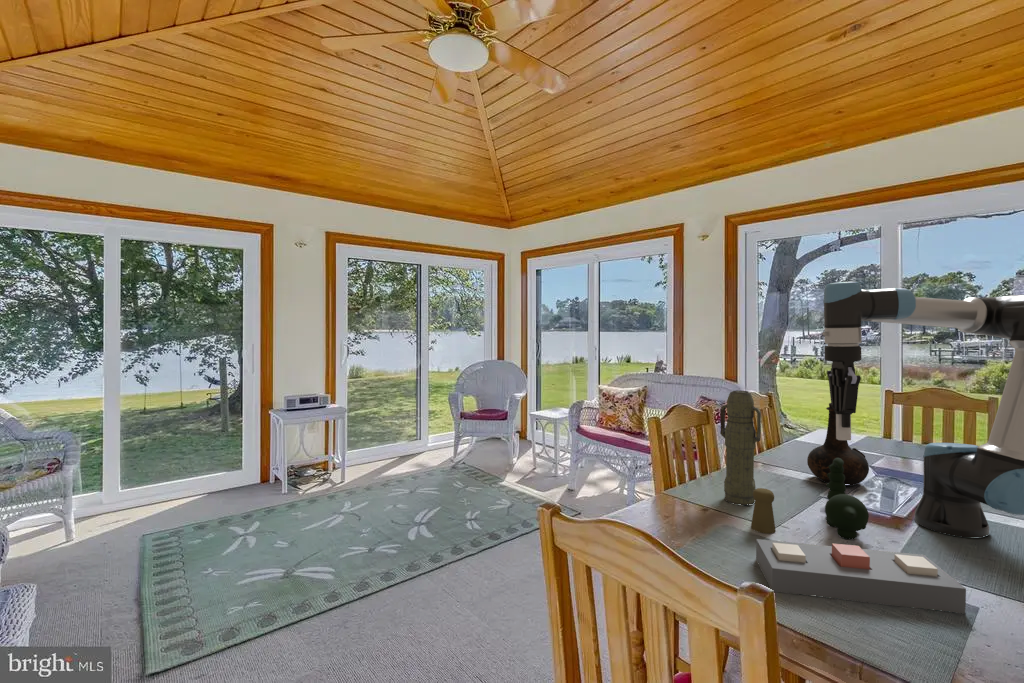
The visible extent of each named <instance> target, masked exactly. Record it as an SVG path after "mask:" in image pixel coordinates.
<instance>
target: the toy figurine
mask: <svg viewBox="0 0 1024 683" xmlns="http://www.w3.org/2000/svg"><path fill="white" fill-rule="evenodd" d="M843 464H844V461H843V460H842V459H841V458H835V459H834V460H833V464H831V465H829V466H828V467H829V469H830V471H831V472H830V473H828V474H827V477H828V478H829V479H830V482H829V483H827V482H826V488H827V489H829V491H828V492H827V496H826V498H827V501H826V503H825V506H824V512H825V520H826V521H825V522H826V524H827V526H829V527H830V528H836V529H837V530H836V531H837V532H836V533H837V535H838V537H840V539H841V538H842V539H845V540H851V541H852V540H855V539H857V537H858V533H857V532H858V531H862V530H865V529H866V528H867V524H868V523H869V518H870V514H869V511H868V508H867V507H866V505H865V504H864V503H863V501H861V500H860V499H859V498H857V497H855V496H854V495H851V494H847V493H846V490H847V488H846V487H847V486H845V484H844V483H843V482H844V481H845V476H844V474H843V472H844V468H843Z"/></svg>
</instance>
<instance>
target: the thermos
mask: <svg viewBox="0 0 1024 683" xmlns="http://www.w3.org/2000/svg"><path fill="white" fill-rule="evenodd" d="M755 412H756V414H757V416H756V422H757V423H756V426H757V427H756V428H755V425H754V423H755V422H754V417H755V416H754V415H755ZM719 414H720V415H719V417H720V422H719V424H720V432H719V433H720V435H721V437H723V439H724V445H725V448H726V454H725V455H726V457H725V458H726V460H725V461H726V462H725V463H726V464H725V466H726V469H725V470H726V471H725V479H724V482H723V485H724V488H723V492H724V500H725V501H726V500H727V501H728V502H727V501H726V502H727V503H729V502H730V503H729V504H731V503H734V504H741V505H747V504H748V505H749V504H753V503H754V502H755V500H754V498H753V491H754V490H755V489H756V481H755V478H754V477H755V475H754V473H755V471H754V470H755V468H754V467H755V466H754V465H755V464H754V462H755V450H756V445H757V444H756V442H757V443H759V442H760V441H761V435H762V427H761V426H762V412H761V410H760V408H759V407H756V406H755V401H754V398H753V395H752V393H751V392H749V391H747V390H732V391H730V392H729V394H728V397H727V400H726V404H724V405H722V406H721V407H720V409H719ZM726 415H727V419H726ZM734 504H733V505H734ZM754 504H755V503H754Z"/></svg>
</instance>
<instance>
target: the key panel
mask: <svg viewBox="0 0 1024 683" xmlns="http://www.w3.org/2000/svg"><path fill="white" fill-rule="evenodd" d="M755 543H756V546H755V548H756V549H755V560H756V563H757V564H758V563H759V564H758V566H759V568H760V570H761V572H762V574H763V576H764V578H765V580H766V581H767V584H768V586H769V588H770V590H771V589H772V590H774V591H773V592H774V593H775V592H776V593H784V594H791V593H793V595H799V594H804V595H803V596H808V595H816V596H823V597H822V598H825V597H831V598H830V599H833V598H838V599H837V600H842V599H845V600H844V601H850V600H853V602H859V601H860V603H867V602H868V603H870V604H878V605H887V606H894V607H902V608H910V607H914V608H913V609H918V608H924V609H923V610H927V609H934V610H933V611H935V610H942V611H941V612H944V611H950V612H949V613H952V612H957V613H956V614H961V613H962V614H961V615H966V606H967V604H966V603H967V588H966V587H965V586H963V585H962V584H961V583H960V582H958V581H957V580H956V579H955V578H953V577H952V576H951V575H950V574H948V573H947V572H946V571H945V570H944V569H942V568H941V567H940V566H939V565H937V564H936V563H935V562H934V561H933V560H931V559H930V558H928V557H927V556H926V555H925V554H919V553H908V552H899V551H888V550H887V551H886V550H877V549H876V550H875V549H868V548H867V549H866V548H861V549H862V550H863V551H864V552H865V553H866V554H867V555H868V556H869V557H870V570H869V569H859V568H849V567H840V566H839V565H838V564H837V562H836V561H835V560H834V559H833V558H832V545H821V544H814V543H813V544H810V543H801V542H793V541H792V542H789V541H782V540H781V541H780V540H779V541H778V540H772V539H771V540H769V539H759V538H756V540H755ZM772 543H782V544H793V545H798V546H799V547H800V549H801V550H802V551H803V553H804V554H805V556H806V563H800V562H791V561H781V560H777V558H776V557H775V555H774V553H773V552H772ZM895 554H898V555H909V556H919V557H924V558H925V559H926V560H927V561H929V562H930V563H931V564H932V565H933V566H935V567H936V568H937V569H938V575H937V576H927V575H917V574H908V573H905V572H904V571H903V570H902V569H901V568H900V567H899V566H898V565H897V564H896V563H895V562H894V556H895ZM772 590H771V591H772ZM794 593H795V594H794ZM816 596H815V597H816Z"/></svg>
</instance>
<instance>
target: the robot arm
mask: <svg viewBox="0 0 1024 683" xmlns="http://www.w3.org/2000/svg"><path fill="white" fill-rule="evenodd" d="M822 301H823V302H822V303H823V313H824V314H823V320H824V321H823V322H824V323H823V324H824V325H823V326H824V332H822V336H823V337H824V344H825V346H824V348H823V349H824V360H825V361H826V362H831V368H830V370H827V371H826V374H827V379H828V386H829V395H830V397H829V398H830V403H831V407H832V408H833V409H834V410H835V412H836V439H838V440H847V441H852V415H853V414H855V413H856V412H857V404H858V395H859V394H858V393H859V386H860V382H861V379H862V378H861V375H856V368H855V364H854V363H855V362H861V360H862V346H860V344H861V343H862V339H863V338H862V336H863V335H862V322H873V323H875V322H876V323H887V324H898V325H899V324H901V325H912V326H913V325H914V326H924V327H926V326H928V327H935V328H936V327H939V328H951V329H952V328H953V329H957V330H958V331H960V332H962V333H967V334H974V335H975V334H976V335H983V336H987V337H988V336H990V337H995V338H1002V339H1006V340H1007V339H1008V340H1009V342H1008V343H1009V344H1010V345H1011V347H1012V348H1014V351H1015V352H1014V356H1013V357H1012V362H1011V364H1010V365H1011V366H1010V368H1009V372H1008V375H1007V378H1006V381H1005V385H1004V388H1003V391H1002V395H1001V398H1000V401H999V405H998V408H997V411H996V414H995V418H994V422H993V424H992V428H991V429H990V430H991V431H990V434H989V438H988V440H987V442H986V443H983V444H981V445H975V444H967V443H958V442H956V443H955V442H930V443H928V444H926V445H925V447H924V452H923V488H922V489H923V490H922V495H921V496H922V497H921V498H920V500H919V503H918V505H917V506H916V509H915V510H914V521H915V522H916V523H917V524H918V525H919V524H920V526H921V525H922V526H921V527H923V526H924V527H923V528H925V527H926V529H928V528H929V529H928V530H930V529H932V530H931V531H933V530H935V531H934V532H936V531H937V532H936V533H939V532H941V533H940V534H943V533H946V534H945V535H947V534H950V535H949V536H951V535H955V536H954V537H957V536H962V537H961V538H963V537H983V536H986V535H988V534H989V535H990V526H989V522H988V520H987V517H986V515H985V512H984V510H983V507H982V505H981V504H983V505H986V506H989V507H990V508H992V509H994V510H997V511H1001V512H1005V513H1007V514H1010V515H1015V516H1017V515H1018V516H1024V294H1012V295H1003V296H1002V295H1001V296H994V297H993V296H991V297H974V296H971V297H967V298H965V299H962V300H961V299H949V298H948V299H947V298H934V297H933V298H932V297H920V296H919V297H918V296H915V293H914V292H912V290H910V289H907V288H897V287H893V288H892V287H891V288H878V289H862V284H861V283H860V282H859V281H843V282H831V283H827V284H826V285H825V286H824V292H823V300H822Z"/></svg>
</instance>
